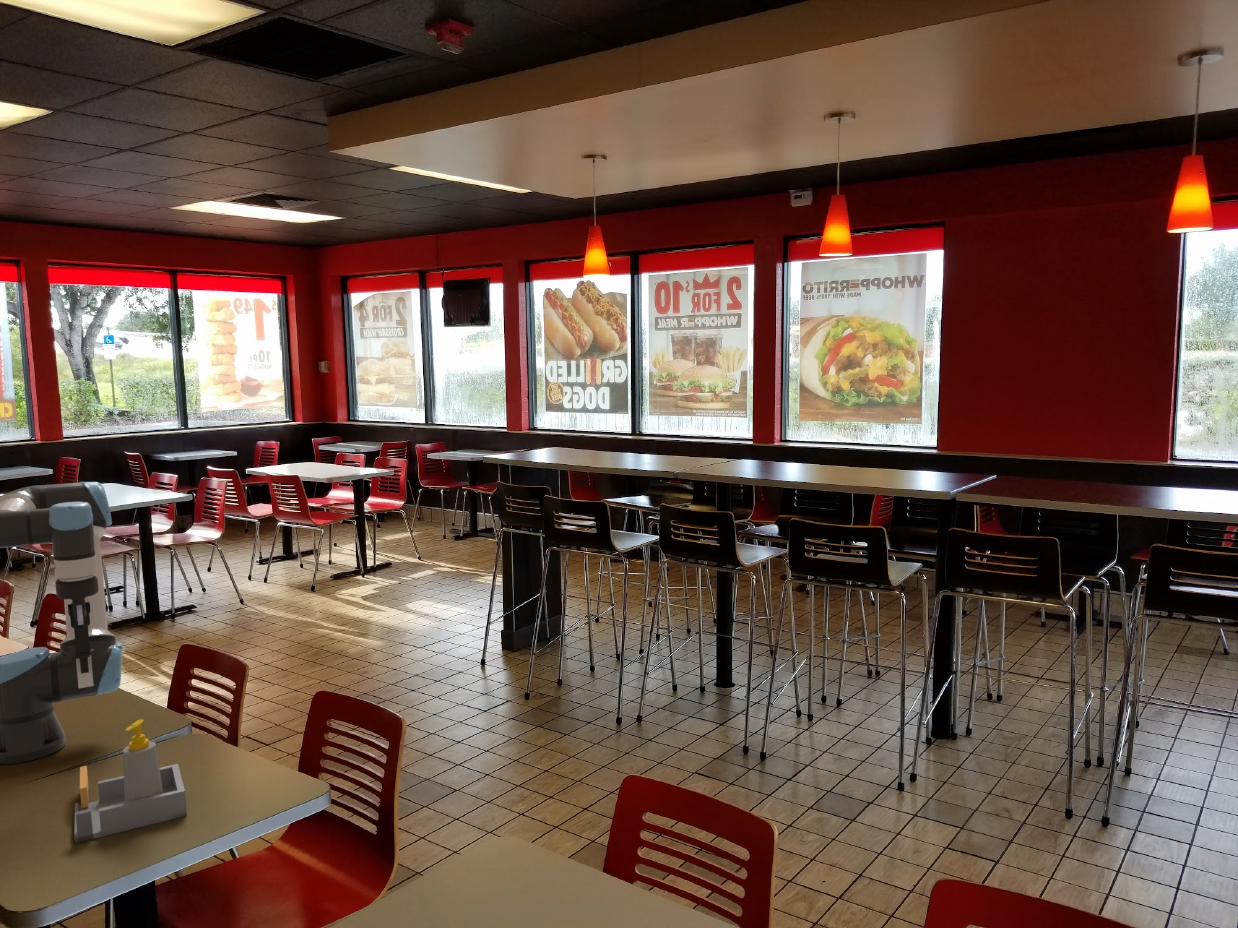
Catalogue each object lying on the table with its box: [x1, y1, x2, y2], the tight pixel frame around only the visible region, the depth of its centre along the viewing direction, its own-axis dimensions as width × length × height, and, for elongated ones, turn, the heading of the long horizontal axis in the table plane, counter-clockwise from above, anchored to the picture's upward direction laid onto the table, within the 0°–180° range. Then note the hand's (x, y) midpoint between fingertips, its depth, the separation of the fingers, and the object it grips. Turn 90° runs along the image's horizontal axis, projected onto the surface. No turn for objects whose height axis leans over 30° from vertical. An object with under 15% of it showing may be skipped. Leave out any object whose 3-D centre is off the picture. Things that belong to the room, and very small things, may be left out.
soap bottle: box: [122, 718, 163, 803], centre depth 172 cm, size 7×7×18 cm
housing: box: [73, 763, 188, 844], centre depth 174 cm, size 15×19×5 cm
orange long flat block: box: [79, 765, 90, 808], centre depth 179 cm, size 12×1×4 cm, turn 31°
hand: (85, 685), depth 186 cm, fingers closed
